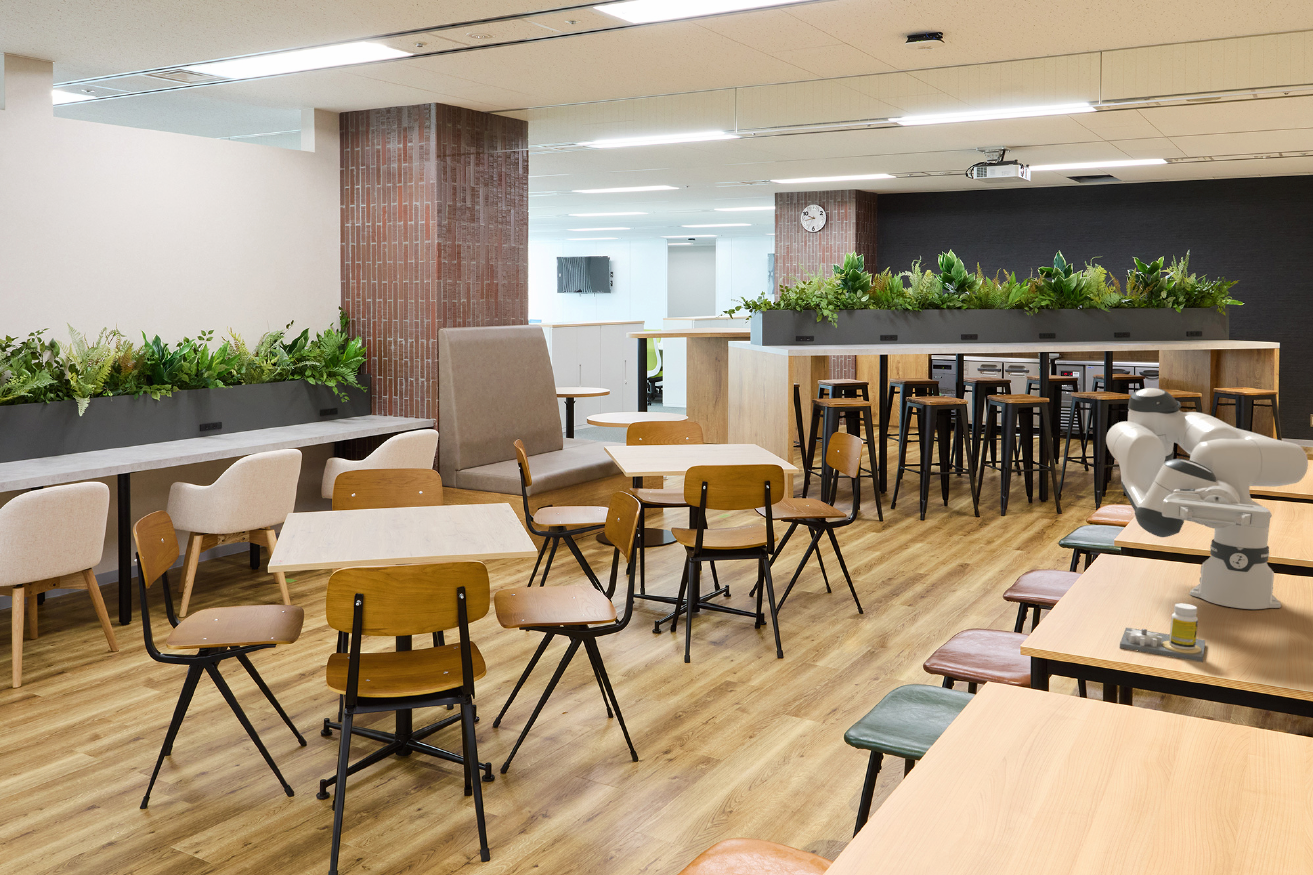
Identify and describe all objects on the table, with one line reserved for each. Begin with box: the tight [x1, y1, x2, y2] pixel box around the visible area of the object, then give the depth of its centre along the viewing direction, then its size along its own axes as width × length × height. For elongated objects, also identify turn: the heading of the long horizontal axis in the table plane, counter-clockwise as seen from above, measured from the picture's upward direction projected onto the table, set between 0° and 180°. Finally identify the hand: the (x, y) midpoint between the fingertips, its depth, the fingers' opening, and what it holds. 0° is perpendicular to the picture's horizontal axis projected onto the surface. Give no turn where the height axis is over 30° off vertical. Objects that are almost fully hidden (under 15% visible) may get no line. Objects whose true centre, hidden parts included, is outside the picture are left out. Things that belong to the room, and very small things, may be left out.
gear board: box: [1119, 627, 1206, 663], centre depth 209 cm, size 12×15×4 cm
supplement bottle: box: [1169, 602, 1199, 650], centre depth 205 cm, size 5×5×8 cm
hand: (1213, 518), depth 211 cm, fingers open, 8 cm apart
